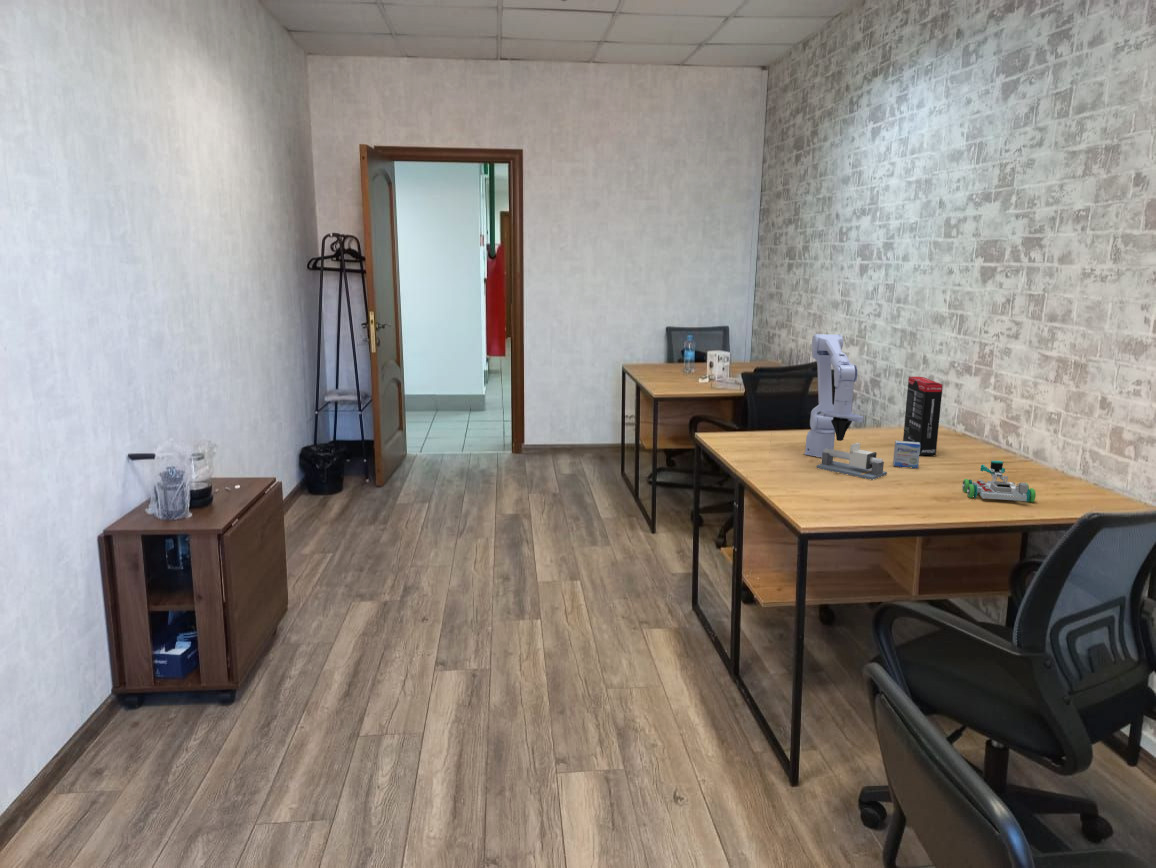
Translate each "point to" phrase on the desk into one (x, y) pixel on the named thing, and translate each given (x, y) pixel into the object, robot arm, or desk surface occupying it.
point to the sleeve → (858, 456)
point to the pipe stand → (850, 470)
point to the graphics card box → (923, 413)
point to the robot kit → (998, 486)
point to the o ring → (869, 460)
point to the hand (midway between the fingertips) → (839, 440)
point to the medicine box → (906, 454)
